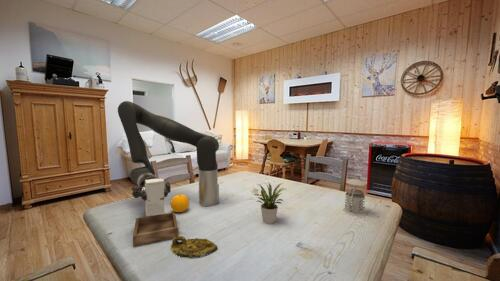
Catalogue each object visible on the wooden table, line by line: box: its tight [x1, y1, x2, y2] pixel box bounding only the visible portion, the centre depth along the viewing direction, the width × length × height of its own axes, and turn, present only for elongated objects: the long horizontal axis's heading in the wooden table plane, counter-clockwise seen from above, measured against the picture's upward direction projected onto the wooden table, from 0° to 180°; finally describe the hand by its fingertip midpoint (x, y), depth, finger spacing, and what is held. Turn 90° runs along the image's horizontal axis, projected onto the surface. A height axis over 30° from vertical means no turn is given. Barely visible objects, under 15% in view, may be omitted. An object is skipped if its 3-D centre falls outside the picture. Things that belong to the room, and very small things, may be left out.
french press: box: [342, 158, 367, 218], centre depth 95 cm, size 10×12×25 cm
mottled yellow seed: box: [170, 235, 218, 259], centre depth 68 cm, size 9×5×15 cm
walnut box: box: [132, 211, 179, 248], centre depth 77 cm, size 14×14×4 cm
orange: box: [170, 193, 190, 213], centre depth 96 cm, size 8×8×8 cm
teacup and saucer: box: [250, 187, 261, 198], centre depth 117 cm, size 9×8×4 cm
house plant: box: [255, 181, 286, 225], centre depth 87 cm, size 14×14×16 cm
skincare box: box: [144, 177, 165, 217], centre depth 76 cm, size 6×4×12 cm
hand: (155, 195), depth 74 cm, fingers closed on skincare box, 6 cm apart
